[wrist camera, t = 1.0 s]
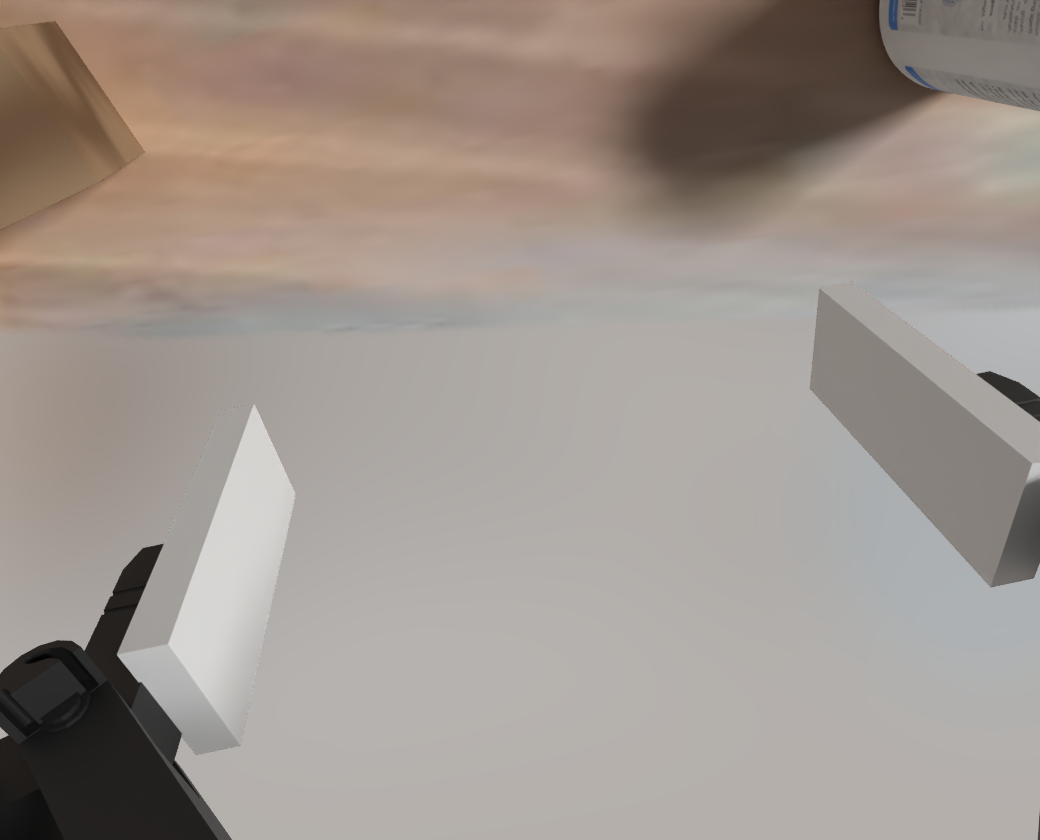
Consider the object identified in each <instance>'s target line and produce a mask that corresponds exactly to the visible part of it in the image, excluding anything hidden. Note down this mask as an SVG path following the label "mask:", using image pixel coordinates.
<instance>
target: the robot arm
mask: <svg viewBox="0 0 1040 840" xmlns="http://www.w3.org/2000/svg"><path fill="white" fill-rule="evenodd" d="M810 389H811V390H812V391H813V393H814V394H815V395H816V396H817V397H818V398H819V399H820V400H821V401H822V402H823V404H824V405H825V406H826V407H827V408H828V409H829V410H830V411H831V412H832V413H833V415H834V416H835V417H836V418H837V419H838V420H839V421H840V422H841V423H842V425H843V426H844V427H845V428H846V429H847V430H848V431H849V432H850V433H851V434H852V436H853V437H854V438H855V439H856V440H857V441H858V442H859V443H860V444H861V445H862V446H863V448H864V449H865V450H866V451H867V452H868V453H869V454H870V455H871V456H872V457H873V459H874V460H875V461H876V462H877V463H878V464H879V465H880V466H881V467H882V468H883V469H884V471H885V472H886V473H887V474H888V475H889V476H890V477H891V478H892V479H893V481H894V482H895V483H896V484H897V485H898V486H899V487H900V488H901V489H902V490H903V492H904V493H906V495H907V496H908V497H909V498H910V499H911V500H912V501H913V502H914V504H915V505H916V506H917V507H918V508H919V509H920V510H921V511H922V512H923V513H924V515H925V516H926V517H927V518H928V519H929V520H930V521H931V522H932V523H933V524H934V526H935V527H936V528H937V529H938V530H939V531H940V532H941V533H942V534H943V535H944V536H945V538H946V539H947V540H948V541H949V542H950V543H951V544H952V545H953V546H954V548H955V549H956V550H957V551H958V552H959V553H960V554H961V555H962V556H963V557H964V559H965V560H966V561H967V562H968V563H969V564H970V565H971V566H972V567H973V568H974V570H975V571H976V572H977V573H978V574H979V575H980V576H981V577H982V578H983V579H984V581H985V582H986V583H987V584H988V585H989V586H990V587H995V586H999V585H1004V584H1009V583H1014V582H1018V581H1023V580H1028V579H1032V578H1034V576H1035V574H1036V571H1037V568H1038V566H1039V563H1040V397H1038V396H1037V395H1036V394H1035V393H1033V392H1032V391H1030V390H1029V389H1027V388H1026V387H1025V386H1023V385H1021V384H1020V383H1019V382H1016V381H1013V380H1011V379H1008V378H1006V377H1003V376H1001V375H998V374H996V373H993V372H990V371H989V372H985V373H979V374H975V373H974V372H972V371H971V370H970V369H968V368H967V367H966V366H964V365H963V364H962V363H960V362H959V361H958V360H956V359H955V358H953V357H952V356H951V355H950V354H948V353H947V352H946V351H944V350H943V349H942V348H940V347H939V346H938V345H936V344H935V343H934V342H932V341H931V340H930V339H928V338H927V337H925V336H924V335H923V334H921V333H920V332H919V331H917V330H916V329H915V328H913V327H912V326H911V325H909V324H908V323H907V322H905V321H904V320H903V319H901V318H900V317H899V316H897V315H896V314H895V313H893V312H892V311H891V310H889V309H888V308H887V307H885V306H884V305H883V304H881V303H880V302H879V301H877V300H876V299H875V298H873V297H872V296H871V295H869V294H868V293H867V292H865V291H864V290H863V289H861V288H860V287H859V286H857V285H856V284H855V283H853V282H847V283H842V284H837V285H832V286H827V287H822V288H819V297H818V308H817V318H816V329H815V340H814V352H813V361H812V372H811V383H810ZM294 500H295V492H294V490H293V488H292V486H291V484H290V481H289V479H288V477H287V475H286V473H285V470H284V469H283V466H282V464H281V462H280V459H279V457H278V455H277V453H276V451H275V449H274V446H273V445H272V442H271V440H270V438H269V435H268V433H267V431H266V429H265V427H264V425H263V422H262V420H261V418H260V416H259V414H258V411H257V409H256V407H255V405H254V404H250V405H245V406H240V407H236V408H231V409H226V410H221V411H220V413H219V415H218V418H217V420H216V423H215V425H214V427H213V430H212V432H211V435H210V437H209V439H208V441H207V444H206V446H205V448H204V451H203V453H202V455H201V458H200V460H199V463H198V465H197V467H196V470H195V472H194V474H193V477H192V479H191V481H190V484H189V486H188V488H187V491H186V493H185V496H184V498H183V500H182V503H181V505H180V507H179V510H178V512H177V514H176V517H175V519H174V521H173V524H172V526H171V528H170V531H169V533H168V535H167V538H166V540H165V542H164V544H161V545H156V546H151V547H146V548H143V549H142V550H141V551H140V552H139V553H138V554H137V555H136V556H135V557H134V558H133V560H132V561H131V562H130V563H129V564H128V565H127V566H126V567H125V568H124V569H123V571H122V573H121V575H120V577H119V580H118V582H117V584H116V586H115V588H114V590H113V596H111V597H110V599H109V601H108V603H107V605H106V607H105V609H104V615H101V617H100V620H99V622H98V624H97V626H96V628H95V630H94V632H93V634H92V636H91V639H90V641H89V643H88V645H87V647H86V649H85V651H84V650H83V649H82V648H81V647H80V646H79V645H77V644H76V643H74V642H73V641H60V640H57V641H54V642H51V643H47V644H44V645H40V646H38V647H36V648H34V649H32V650H31V651H29V652H27V653H25V654H23V655H21V656H20V657H19V658H18V659H16V660H15V661H14V662H13V663H11V664H10V665H9V666H8V667H6V668H5V669H4V670H3V671H2V672H1V674H0V727H1V728H2V729H3V730H4V731H5V732H6V733H7V734H8V735H9V736H6V737H4V738H2V739H0V840H232V839H231V838H230V836H229V835H228V833H227V832H226V831H225V829H224V828H223V826H222V825H221V823H220V822H219V821H218V819H217V818H216V816H215V815H214V814H213V812H212V811H211V809H210V808H209V807H208V805H207V804H206V802H205V801H204V800H203V798H202V797H201V795H200V794H199V792H198V791H197V790H196V788H195V787H194V785H193V784H192V782H191V781H190V780H189V779H188V777H187V775H186V774H185V773H184V771H183V770H182V769H181V767H180V766H179V765H178V764H177V762H176V761H175V760H174V759H175V756H176V752H177V749H178V745H179V742H180V739H181V737H182V738H183V739H184V741H185V742H186V743H187V744H188V746H189V747H190V748H191V749H192V751H193V752H194V753H195V754H196V755H199V754H204V753H208V752H213V751H217V750H223V749H227V748H232V747H236V746H240V745H241V741H242V736H243V732H244V727H245V723H246V718H247V714H248V709H249V704H250V700H251V696H252V691H253V687H254V682H255V678H256V673H257V668H258V664H259V659H260V654H261V650H262V645H263V641H264V637H265V632H266V627H267V623H268V618H269V614H270V609H271V605H272V600H273V596H274V591H275V586H276V582H277V577H278V573H279V568H280V564H281V559H282V555H283V550H284V546H285V541H286V536H287V532H288V527H289V522H290V518H291V514H292V509H293V505H294ZM1038 840H1040V816H1039V831H1038Z"/></svg>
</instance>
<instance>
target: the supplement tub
mask: <svg viewBox="0 0 1040 840" xmlns="http://www.w3.org/2000/svg"><path fill="white" fill-rule="evenodd" d="M879 23H880V31H881V36H882V40H883V44H884V46H885V49H886V51H887V53H888V55H889V57H890V59H891V61H892V62H893V63H894V65H895V66H896V67H897V68H898V69H899V70H900V71H901V72H902V73H903V74H904V75H905V76H906V77H908V78H909V79H911V80H912V81H914V82H915V83H917V84H919V85H921V86H924V87H927V88H930V89H934V90H939V91H943V92H948V93H953V94H958V95H963V96H969V97H974V98H979V99H983V100H988V101H992V102H997V103H1002V104H1007V105H1012V106H1017V107H1022V108H1027V109H1032V110H1037V111H1040V0H880V6H879Z"/></svg>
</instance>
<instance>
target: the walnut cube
mask: <svg viewBox="0 0 1040 840" xmlns="http://www.w3.org/2000/svg"><path fill="white" fill-rule="evenodd" d="M144 152H145V151H144V150H143V148H142V147H141V145H140V144H139V142H138V141H137V139H136V138H135V137H134V135H133V134H132V132H131V131H130V129H129V128H128V126H127V125H126V123H125V122H124V120H123V119H122V118H121V116H120V115H119V113H118V112H117V110H116V109H115V107H114V106H113V104H112V103H111V102H110V100H109V99H108V97H107V96H106V94H105V93H104V91H103V90H102V88H101V87H100V85H99V84H98V83H97V81H96V80H95V78H94V77H93V75H92V74H91V72H90V71H89V69H88V68H87V66H86V65H85V64H84V62H83V61H82V59H81V58H80V56H79V55H78V53H77V52H76V50H75V49H74V48H73V46H72V45H71V43H70V42H69V40H68V39H67V37H66V36H65V34H64V33H63V31H62V30H61V29H60V27H59V26H58V24H57V23H56V21H55V22H47V23H39V24H31V25H23V26H16V27H8V28H0V229H2V228H4V227H7V226H9V225H11V224H13V223H15V222H17V221H19V220H21V219H23V218H25V217H27V216H30V215H32V214H34V213H36V212H38V211H40V210H42V209H44V208H46V207H48V206H50V205H52V204H55V203H57V202H59V201H61V200H63V199H65V198H67V197H69V196H71V195H73V194H75V193H78V192H80V191H82V190H84V189H86V188H88V187H90V186H92V185H94V184H96V183H98V182H100V181H102V180H103V179H105V178H106V177H108V176H109V175H111V174H112V173H114V172H115V171H117V170H118V169H120V168H122V167H123V166H125V165H126V164H128V163H129V162H131V161H132V160H134V159H135V158H137V157H138V156H140V155H141V154H143V153H144Z"/></svg>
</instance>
